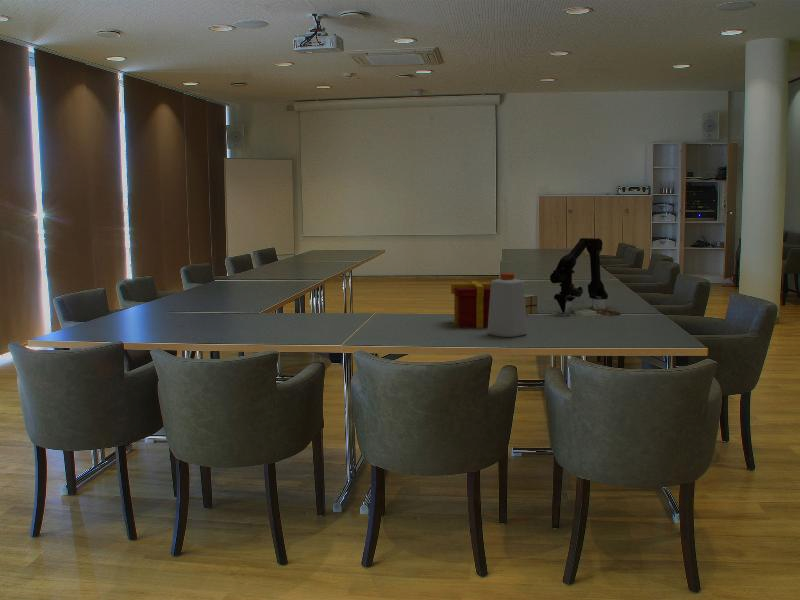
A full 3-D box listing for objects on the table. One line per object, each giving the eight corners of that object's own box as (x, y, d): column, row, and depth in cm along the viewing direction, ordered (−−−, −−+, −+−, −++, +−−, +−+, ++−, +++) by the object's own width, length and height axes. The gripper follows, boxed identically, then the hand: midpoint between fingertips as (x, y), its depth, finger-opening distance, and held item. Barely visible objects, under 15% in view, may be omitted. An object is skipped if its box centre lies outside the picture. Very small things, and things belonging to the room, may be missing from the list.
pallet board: (586, 314, 423) (586, 309, 423) (601, 312, 427) (601, 307, 426) (606, 318, 407) (606, 313, 406) (622, 317, 410) (623, 312, 410)
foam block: (559, 301, 480) (560, 287, 478) (576, 300, 480) (577, 287, 479) (564, 303, 470) (564, 289, 469) (581, 303, 471) (581, 289, 470)
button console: (574, 316, 416) (574, 310, 415) (587, 315, 419) (587, 309, 418) (583, 318, 408) (583, 312, 408) (596, 317, 411) (596, 311, 411)
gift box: (506, 328, 382) (506, 286, 379) (454, 329, 380) (454, 286, 378) (497, 320, 406) (497, 280, 404) (448, 320, 405) (448, 281, 402)
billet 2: (592, 312, 422) (593, 298, 421) (600, 311, 424) (600, 298, 423) (598, 313, 418) (598, 299, 417) (605, 312, 419) (605, 299, 418)
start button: (580, 315, 414) (580, 309, 414) (586, 314, 416) (586, 309, 416) (584, 316, 411) (584, 310, 410) (590, 315, 412) (591, 310, 412)
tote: (551, 314, 423) (551, 312, 422) (568, 313, 427) (568, 311, 426) (562, 317, 412) (562, 315, 412) (580, 315, 417) (580, 313, 416)
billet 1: (559, 313, 421) (560, 300, 420) (567, 313, 422) (567, 300, 421) (564, 314, 417) (564, 301, 416) (571, 314, 418) (572, 301, 417)
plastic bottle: (505, 330, 374) (506, 271, 370) (530, 334, 363) (531, 273, 359) (483, 334, 364) (483, 273, 361) (508, 338, 353) (508, 276, 349)
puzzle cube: (510, 313, 427) (511, 295, 426) (524, 312, 433) (524, 293, 432) (524, 316, 419) (524, 297, 418) (537, 314, 425) (537, 295, 424)
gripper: (574, 284, 405) (573, 314, 407) (587, 281, 420) (587, 310, 422) (553, 283, 411) (553, 313, 413) (567, 280, 427) (567, 308, 429)
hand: (565, 311), depth 419 cm, fingers closed on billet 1, 6 cm apart
